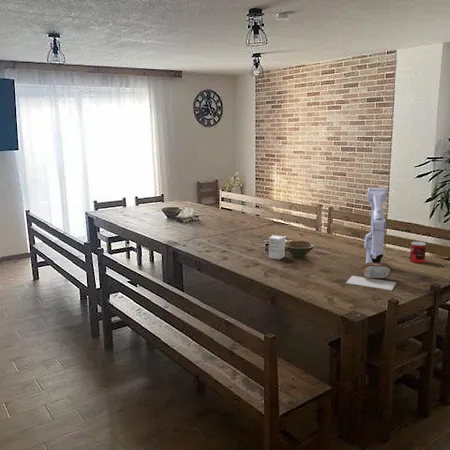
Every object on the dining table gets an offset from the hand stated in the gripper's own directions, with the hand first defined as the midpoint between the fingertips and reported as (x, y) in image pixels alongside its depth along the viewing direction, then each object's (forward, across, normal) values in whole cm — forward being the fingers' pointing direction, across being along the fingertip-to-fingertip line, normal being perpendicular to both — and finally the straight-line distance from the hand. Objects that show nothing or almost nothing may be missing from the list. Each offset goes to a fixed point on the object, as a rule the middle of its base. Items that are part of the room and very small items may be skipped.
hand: (375, 268), depth 233 cm
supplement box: (+5, +10, +60) cm, 61 cm away
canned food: (+5, +40, -15) cm, 43 cm away
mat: (+5, -10, 0) cm, 11 cm away
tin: (+5, -2, 0) cm, 5 cm away
